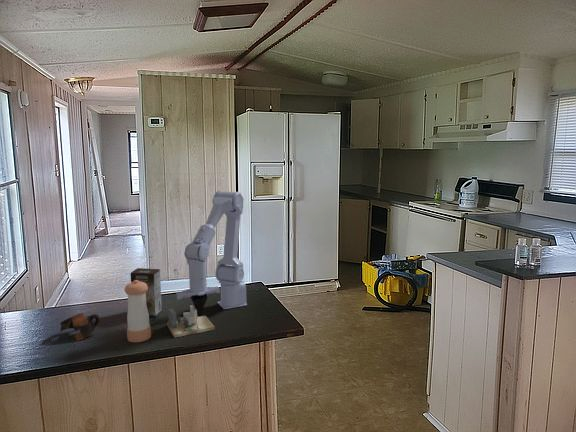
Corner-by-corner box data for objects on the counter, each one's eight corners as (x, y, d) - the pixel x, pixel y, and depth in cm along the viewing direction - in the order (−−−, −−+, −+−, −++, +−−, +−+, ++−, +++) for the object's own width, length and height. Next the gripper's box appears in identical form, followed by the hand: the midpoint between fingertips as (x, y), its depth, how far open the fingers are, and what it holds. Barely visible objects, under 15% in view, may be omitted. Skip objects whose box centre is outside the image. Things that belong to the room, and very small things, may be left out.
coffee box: (131, 315, 159) (128, 272, 157) (139, 308, 165) (136, 267, 163) (155, 316, 158) (153, 273, 156) (162, 309, 165) (160, 268, 162)
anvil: (173, 322, 150) (172, 308, 149) (176, 327, 145) (176, 313, 145) (168, 322, 150) (168, 309, 149) (172, 328, 145) (171, 314, 144)
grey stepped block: (193, 317, 153) (192, 305, 152) (199, 325, 147) (198, 312, 146) (176, 320, 150) (175, 308, 149) (181, 328, 144) (180, 315, 143)
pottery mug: (68, 346, 136) (57, 322, 136) (67, 348, 144) (57, 325, 144) (106, 327, 142) (95, 305, 143) (104, 330, 150) (94, 308, 151)
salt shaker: (128, 334, 143) (124, 277, 140) (151, 331, 145) (148, 276, 142) (126, 343, 136) (122, 284, 133) (150, 341, 138) (147, 282, 135)
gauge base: (205, 318, 156) (205, 314, 156) (214, 329, 146) (214, 325, 146) (167, 325, 150) (166, 321, 150) (174, 337, 140) (174, 333, 140)
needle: (187, 324, 147) (187, 319, 146) (190, 328, 143) (190, 323, 143) (183, 324, 146) (183, 320, 146) (186, 329, 142) (186, 324, 142)
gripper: (179, 283, 142) (181, 323, 144) (221, 277, 149) (223, 315, 151) (174, 278, 148) (176, 316, 150) (215, 272, 155) (216, 308, 157)
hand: (199, 315), depth 151 cm, fingers closed
